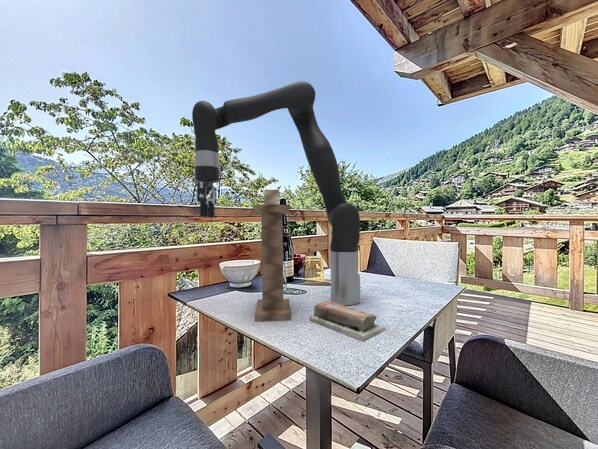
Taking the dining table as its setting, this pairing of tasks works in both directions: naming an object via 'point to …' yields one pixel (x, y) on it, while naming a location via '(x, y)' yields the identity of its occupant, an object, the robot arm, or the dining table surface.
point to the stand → (272, 265)
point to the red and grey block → (346, 320)
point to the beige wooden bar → (271, 197)
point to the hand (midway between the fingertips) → (207, 216)
